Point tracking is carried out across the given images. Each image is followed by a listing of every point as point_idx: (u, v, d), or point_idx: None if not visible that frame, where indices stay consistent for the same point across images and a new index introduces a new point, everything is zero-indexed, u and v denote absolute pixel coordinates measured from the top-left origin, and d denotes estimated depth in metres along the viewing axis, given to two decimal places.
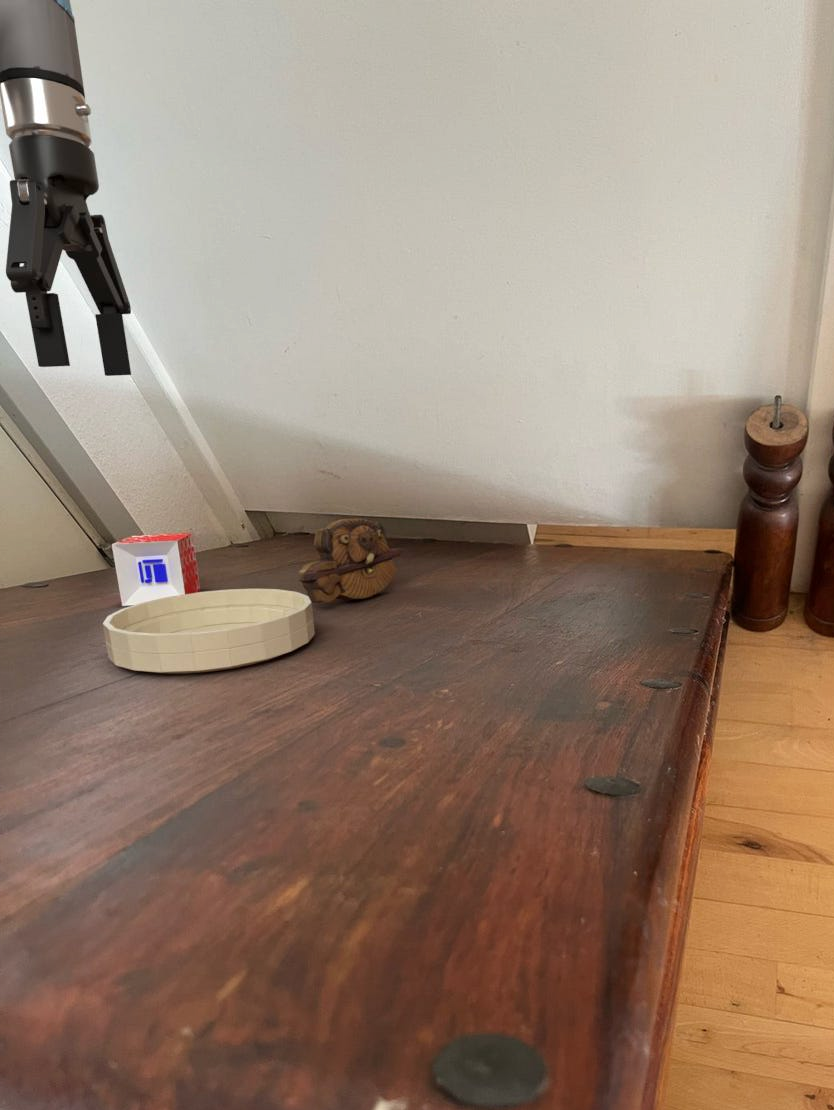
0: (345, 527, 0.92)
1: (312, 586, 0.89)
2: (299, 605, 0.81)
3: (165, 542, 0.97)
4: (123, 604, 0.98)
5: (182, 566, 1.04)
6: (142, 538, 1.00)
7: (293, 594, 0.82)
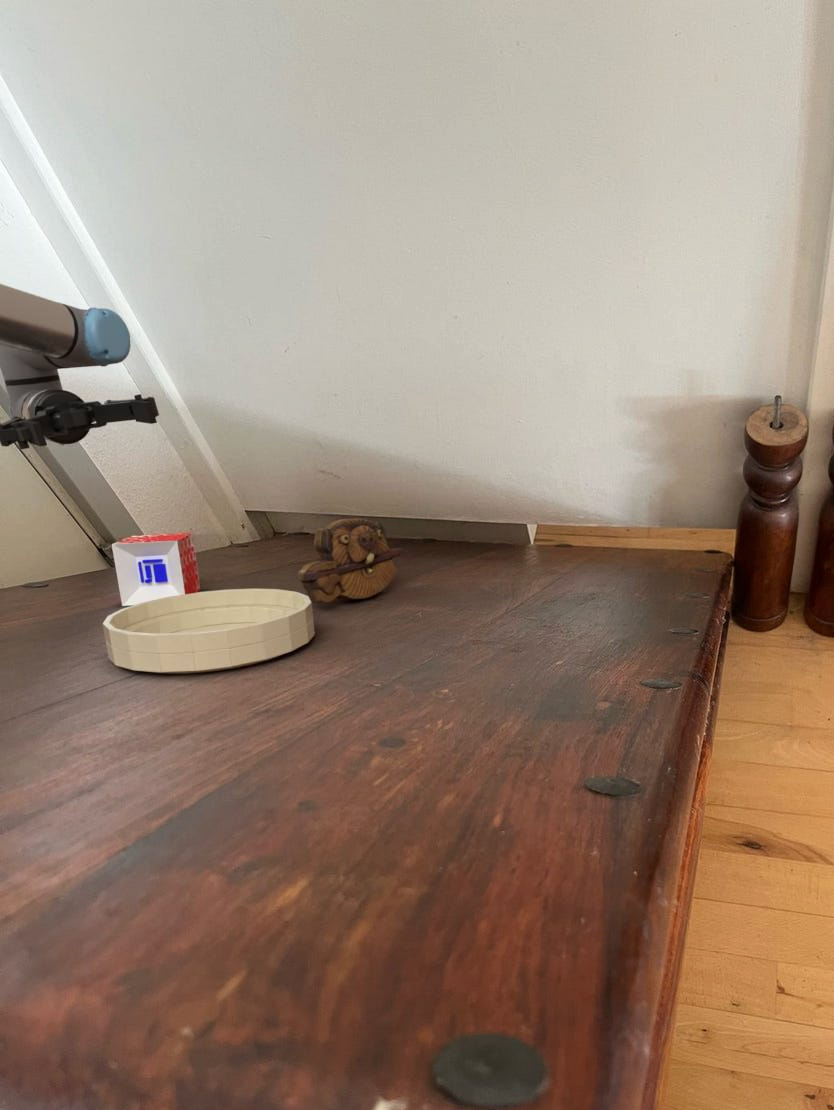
0: (345, 527, 0.92)
1: (312, 586, 0.89)
2: (299, 605, 0.81)
3: (165, 542, 0.97)
4: (123, 603, 0.98)
5: (182, 566, 1.04)
6: (142, 538, 1.00)
7: (293, 594, 0.82)
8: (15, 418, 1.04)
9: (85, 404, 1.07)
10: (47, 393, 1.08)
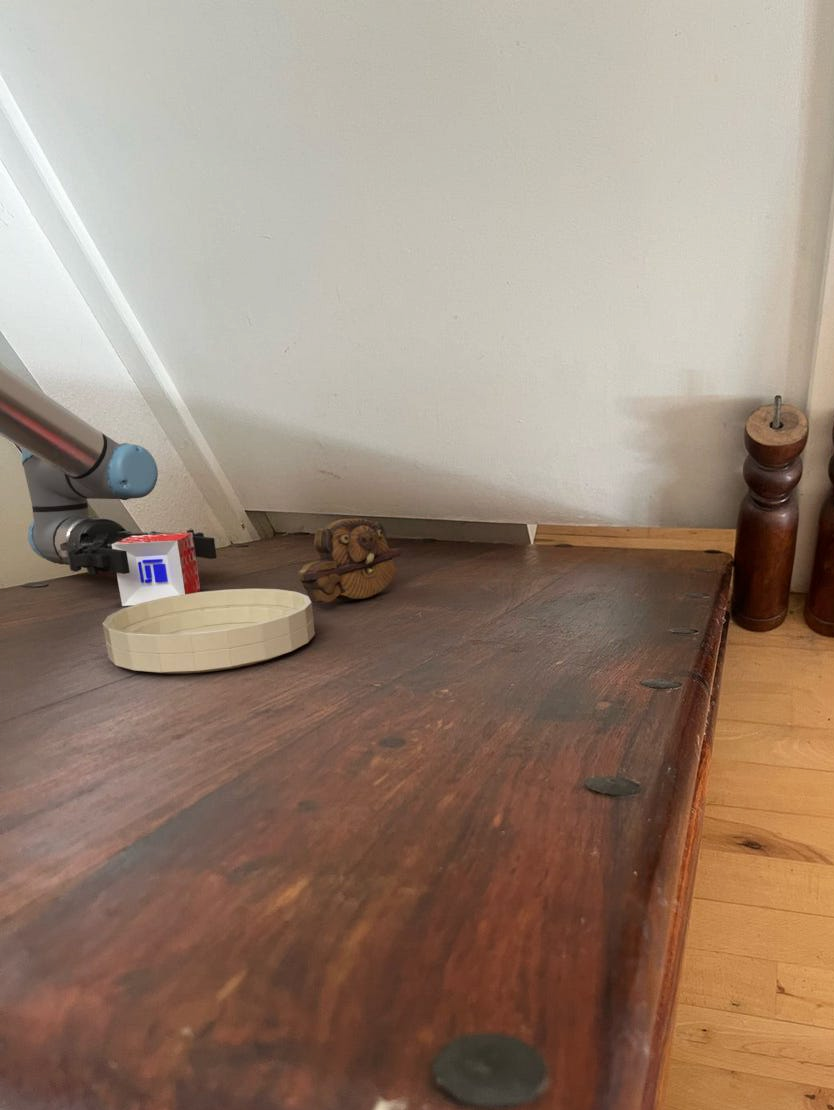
0: (345, 527, 0.92)
1: (312, 586, 0.89)
2: (299, 605, 0.81)
3: (165, 542, 0.97)
4: (123, 604, 0.98)
5: (182, 566, 1.04)
6: (142, 538, 1.00)
7: (293, 594, 0.82)
8: (67, 544, 1.03)
9: (134, 535, 1.07)
10: (94, 521, 1.08)
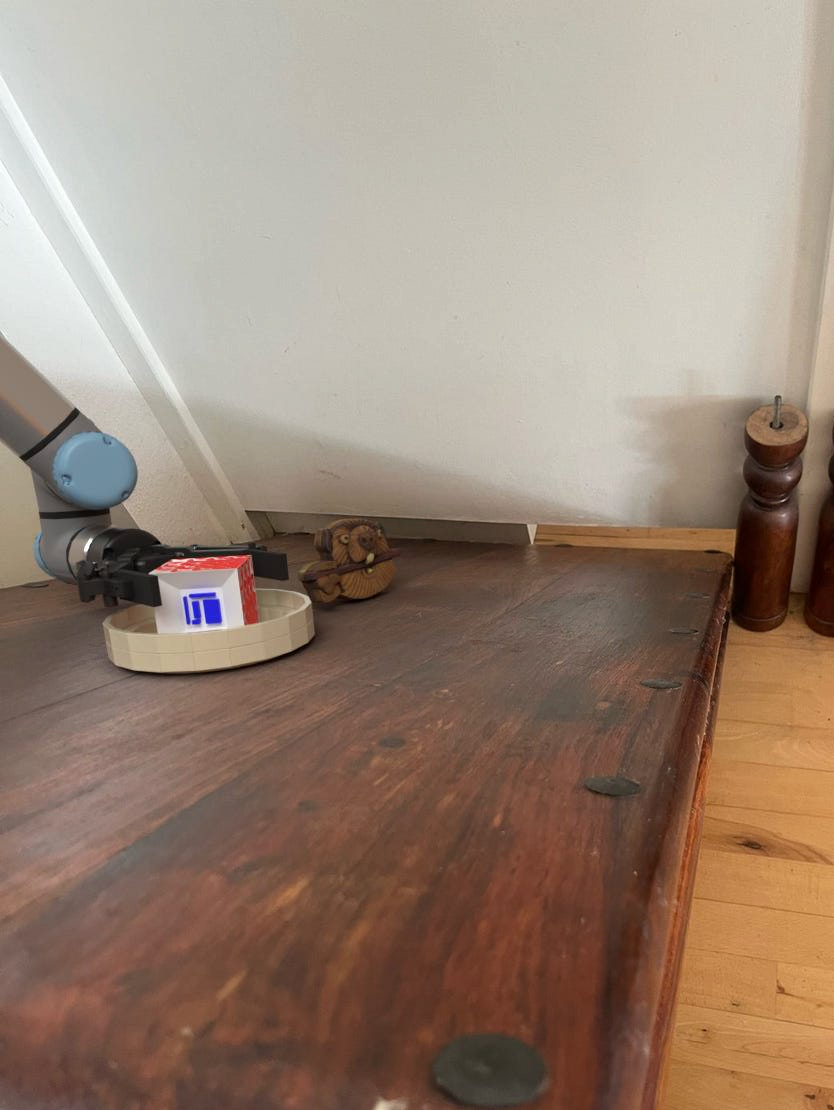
0: (345, 527, 0.92)
1: (312, 586, 0.89)
2: (299, 605, 0.81)
3: (221, 570, 0.71)
4: None
5: None
6: (187, 564, 0.75)
7: (293, 594, 0.82)
8: (84, 563, 0.77)
9: (175, 549, 0.82)
10: (121, 532, 0.82)
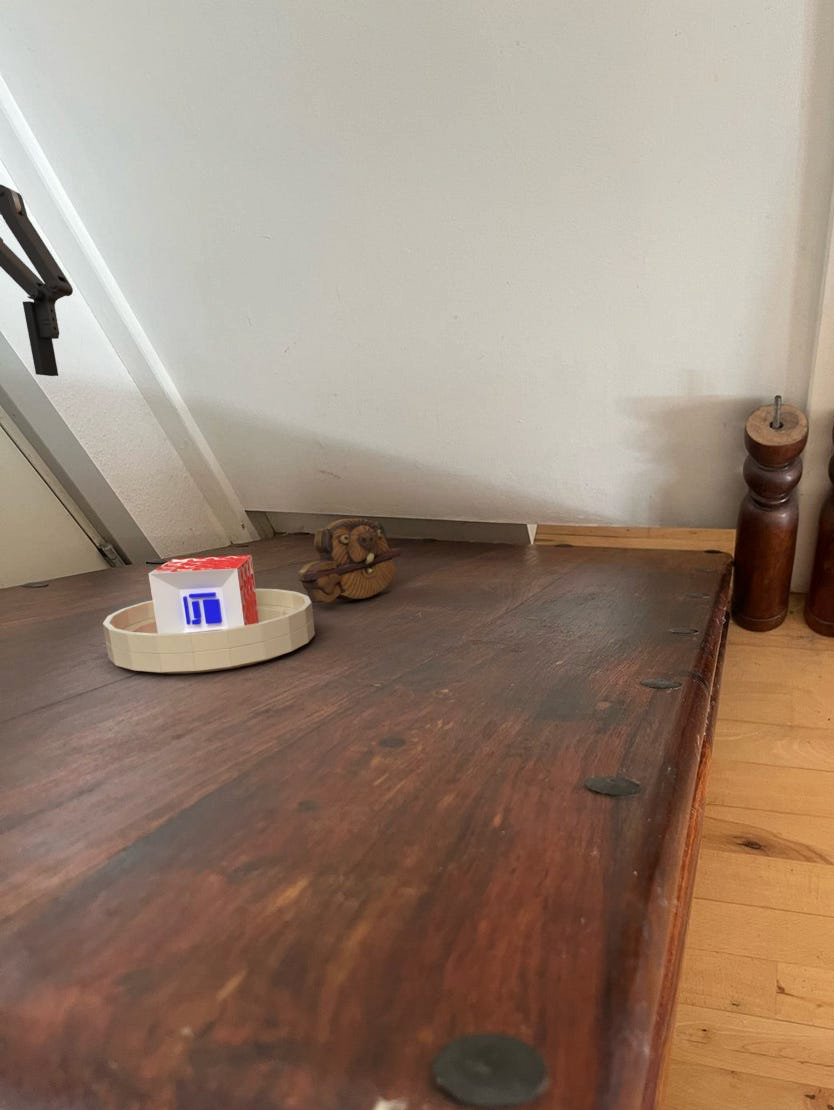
0: (345, 527, 0.92)
1: (312, 586, 0.89)
2: (299, 605, 0.81)
3: (221, 570, 0.71)
4: None
5: None
6: (187, 564, 0.75)
7: (293, 594, 0.82)
8: None
9: None
10: None
